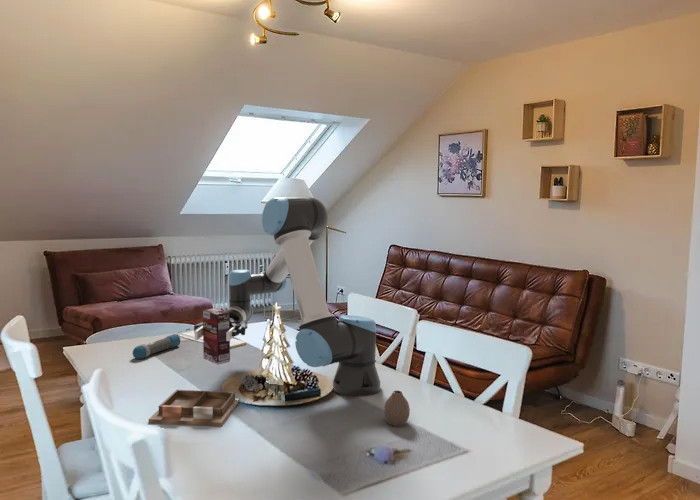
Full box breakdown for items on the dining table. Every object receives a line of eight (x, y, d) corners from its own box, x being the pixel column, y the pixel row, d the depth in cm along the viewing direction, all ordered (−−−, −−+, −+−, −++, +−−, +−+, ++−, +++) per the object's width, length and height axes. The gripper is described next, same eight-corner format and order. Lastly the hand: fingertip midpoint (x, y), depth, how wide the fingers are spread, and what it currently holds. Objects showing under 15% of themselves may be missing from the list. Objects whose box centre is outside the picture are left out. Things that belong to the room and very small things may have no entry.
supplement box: (202, 359, 183) (201, 309, 182) (215, 356, 187) (215, 307, 185) (217, 365, 177) (216, 314, 176) (230, 362, 181) (230, 312, 179)
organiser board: (239, 401, 172) (239, 388, 171) (221, 426, 154) (221, 411, 154) (173, 398, 173) (173, 385, 173) (148, 422, 156) (148, 408, 155)
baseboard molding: (223, 352, 225) (246, 345, 235) (223, 344, 225) (246, 338, 234) (175, 338, 244) (198, 332, 254) (175, 331, 244) (198, 326, 253)
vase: (388, 429, 154) (389, 397, 153) (380, 419, 160) (381, 388, 159) (413, 426, 156) (414, 395, 155) (404, 417, 162) (404, 386, 161)
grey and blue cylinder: (180, 347, 230) (180, 334, 229) (140, 361, 210) (140, 348, 209) (170, 345, 232) (170, 333, 231) (130, 359, 212) (129, 346, 211)
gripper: (263, 331, 198) (247, 349, 176) (201, 329, 200) (177, 346, 178) (263, 309, 198) (246, 325, 175) (201, 307, 199) (176, 322, 177)
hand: (211, 336), depth 177 cm, fingers closed on supplement box, 9 cm apart
